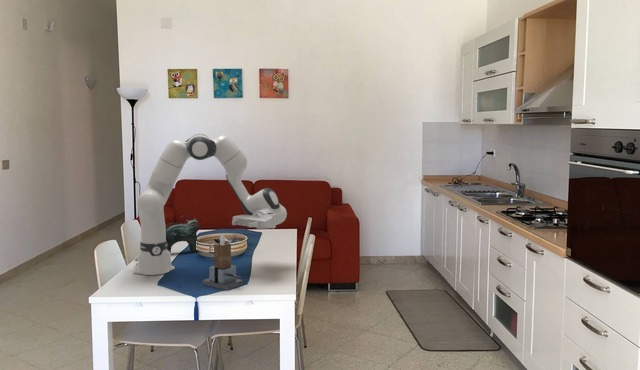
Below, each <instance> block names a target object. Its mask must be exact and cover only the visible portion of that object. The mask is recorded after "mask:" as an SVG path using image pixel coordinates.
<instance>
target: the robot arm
mask: <svg viewBox="0 0 640 370" xmlns="http://www.w3.org/2000/svg"><path fill="white" fill-rule="evenodd" d="M212 157H215V158H216V160H218V161H219V163H220V164H221V166H223V169H224V170H225V174H226V175H225V178H226V180H227V183H228V184H229V186H230V188H231V189H232V191H233V193H234V195H235V196H236V198H237V200H238V202H240V204H241V207H242V210H243V212H244V213H245V214H239V215H234V216H232V221H231V225H232V226H237V225H238V226H244V227H248V228H256V229H257V230H265V229H275V228H276V227H277V225H280V224H282V223H284V221H285V220H286V218H287V217H288V216H287V215H288V212H287V209H286V208H285V207H284V206H283V205H282V204H281V203H280V200H279V197H278V196H279V195H278V194H277V193H276V191H274V190H273V189H271V188H269V187H265V188H263V189H261V190H259V191H258V192H256V193H254V194H252V195H251V194H250V193H249V192H248V190H247V188H246V187H245V185H244V184H243V182H242V176H243V174H244V172H245V170H246V168H247V165H248V159H247V156H246V155H245V154H244V152H243V151H242V150H241V149H240V147H239V146H238V145H237V144H236V143H235V142H234V141H233V140H232V139H231V138H230V137H228V136H227V135H223V134H222V135H218V136H217V137H216V138H214V139H210V137H208V136H207V135H205V134H203V133H197V134H194V135H193V136H191V137H189V138H188V139H186V140H185V141H184V140H182V139H172V140H170V142H169V143H167V145H166V147H165V148H164V149H163V151H162V153H161V155H160V156H159V158H158V161H157V162H156V164H155V167H154V168H153V171H152V173H151V176H150V177H149V180H148V183H147V185H146V187H145V189H144V191H142V192H141V193H140V194H139V196H138V198H137V210H138V217H139V222H140V224H139V225H140V244H139V250H140V251H139V252H138V255H137V256H134V262H136V263H134V264H133V271H132V272H133V273H132V274H134V275H144V276H156V275H164V274H168V273H169V272H171V271H172V270H173V271H174V270H175V269H176V268H175V266H174V265H173V264H172V256H171V255H172V252H171V253H170V252H169V251H168V250H167V241H166V229H167V228H166V226H167V225H166V221H165V220H166V219H165V212H164V211H165V209H164V206H165V205H166V203H167V201H168V199H169V198H170V195H171V193H172V190H173V188H174V186H175V184H176V182H177V180H178V178H179V176H180V173H181V172H182V170H183V168H184V165H185V164H186V162H187V161H188V160H189V159H190V158H193V159H194V160H196V161H203V160H207V159H210V158H212Z"/></svg>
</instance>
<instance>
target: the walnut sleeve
mask: <svg viewBox="0 0 640 370" xmlns="http://www.w3.org/2000/svg"><path fill="white" fill-rule="evenodd" d="M213 258H214V259H213V266H214V267H217V268H221V269H224V268H227V267H230V266H231V265H232V243H229V242H225V245H220V242H218V243H217V242H216V243H213Z"/></svg>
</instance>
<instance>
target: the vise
mask: <svg viewBox="0 0 640 370" xmlns="http://www.w3.org/2000/svg"><path fill="white" fill-rule="evenodd" d="M225 235H226V234H224V233H222V234H221V233H220V234H219V243H220V245H225V243H226V237H225ZM208 274H209V278H205V279H203V280H202V286H207V287H210V286H211V288H214V287H215V288H216V289H219V290H224V291H230V290H233V289H235V288H238V287H240V286H243V285H244V280H243V279H241V278H242V276H241V275H237V266H236V265H232V264H231V266H230V267H227V268H224V269H221V268H217V267H214V265H212V266H209V272H208ZM215 288H214V289H215Z"/></svg>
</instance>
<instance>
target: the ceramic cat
mask: <svg viewBox="0 0 640 370" xmlns="http://www.w3.org/2000/svg"><path fill="white" fill-rule="evenodd" d="M183 217H186V218H187V219H185V223H178V222H176V224H175V222H172V223H169V224H167V225H166V241H167V250H168V251H169V252H170V253H171V254H172V248H173V246H174V245H175V244H177V243H180V242H186V243H187V245H188V247H189V251H190V252H191V253H197V252H196V241H197V242H198V235H197V233H198V231H199V230H200V223H199V222H198V219H197V217H194V218H193V220H189V218H188V216H187V215H182V216H180V219H182V218H183ZM173 224H174V225H173Z"/></svg>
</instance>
